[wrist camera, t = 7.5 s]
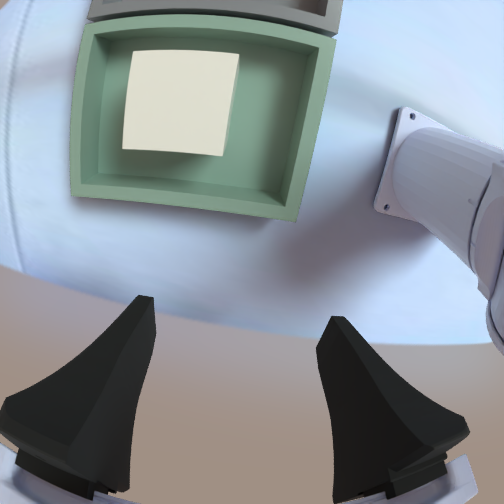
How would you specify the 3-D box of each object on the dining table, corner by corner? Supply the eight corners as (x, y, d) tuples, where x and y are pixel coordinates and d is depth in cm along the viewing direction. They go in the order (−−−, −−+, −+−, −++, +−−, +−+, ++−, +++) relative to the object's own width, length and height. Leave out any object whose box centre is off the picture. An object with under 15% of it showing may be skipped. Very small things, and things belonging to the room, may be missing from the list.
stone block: (239, 68, 13) (239, 54, 9) (227, 142, 15) (222, 156, 11) (161, 64, 12) (133, 51, 8) (151, 136, 15) (122, 148, 11)
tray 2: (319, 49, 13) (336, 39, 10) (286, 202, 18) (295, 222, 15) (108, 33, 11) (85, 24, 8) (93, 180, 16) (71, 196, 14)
